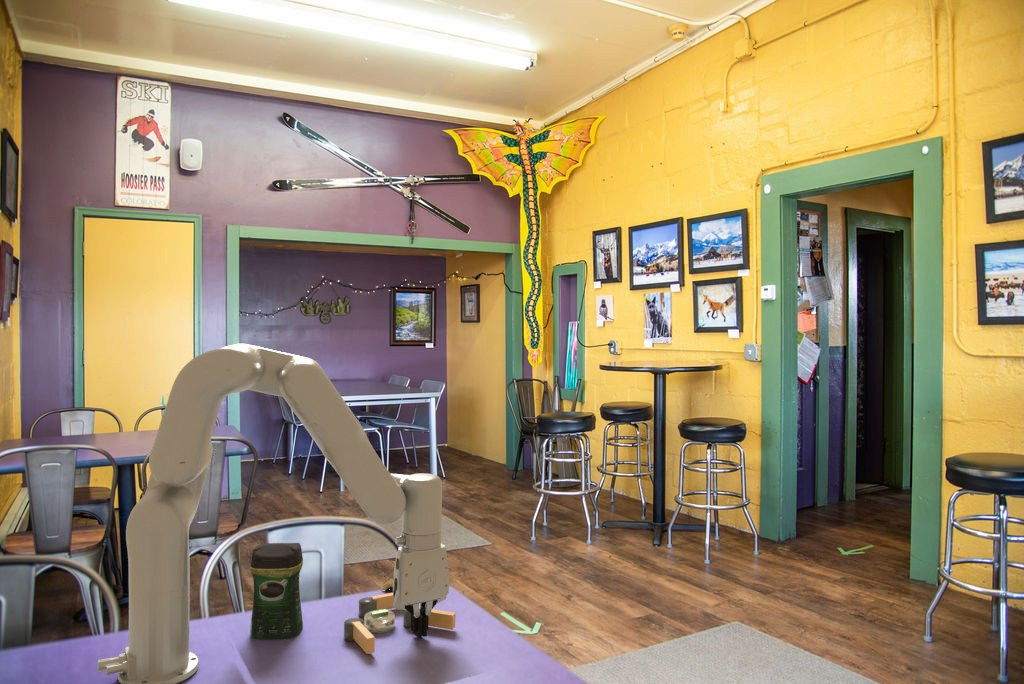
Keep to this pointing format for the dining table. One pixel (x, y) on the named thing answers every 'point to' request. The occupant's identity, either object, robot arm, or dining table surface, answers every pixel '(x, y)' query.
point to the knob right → (434, 619)
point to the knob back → (375, 603)
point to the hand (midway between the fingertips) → (419, 634)
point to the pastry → (388, 586)
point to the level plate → (379, 621)
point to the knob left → (359, 634)
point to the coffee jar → (276, 591)
